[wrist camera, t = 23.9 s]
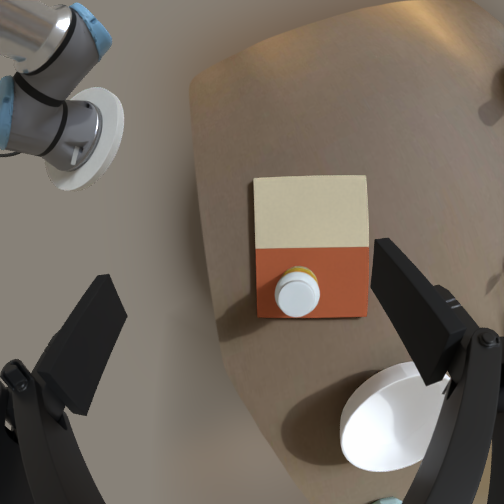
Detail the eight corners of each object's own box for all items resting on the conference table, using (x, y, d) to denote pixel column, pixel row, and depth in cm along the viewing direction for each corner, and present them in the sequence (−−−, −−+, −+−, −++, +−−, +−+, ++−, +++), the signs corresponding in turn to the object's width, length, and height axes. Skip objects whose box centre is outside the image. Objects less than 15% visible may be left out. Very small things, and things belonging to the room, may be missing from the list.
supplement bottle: (316, 303, 39) (319, 325, 30) (279, 302, 40) (270, 322, 31) (318, 265, 39) (322, 276, 30) (280, 264, 40) (272, 274, 31)
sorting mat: (258, 315, 42) (257, 317, 41) (254, 179, 41) (253, 178, 40) (365, 314, 39) (366, 316, 38) (364, 176, 38) (365, 175, 37)
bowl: (340, 450, 41) (342, 481, 33) (331, 365, 40) (335, 393, 32) (437, 425, 37) (452, 451, 29) (445, 336, 37) (468, 356, 28)
